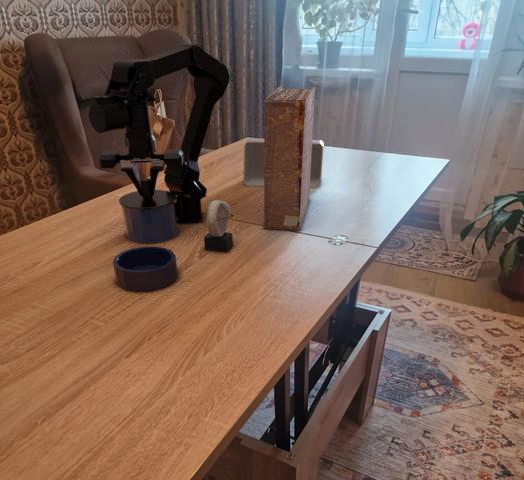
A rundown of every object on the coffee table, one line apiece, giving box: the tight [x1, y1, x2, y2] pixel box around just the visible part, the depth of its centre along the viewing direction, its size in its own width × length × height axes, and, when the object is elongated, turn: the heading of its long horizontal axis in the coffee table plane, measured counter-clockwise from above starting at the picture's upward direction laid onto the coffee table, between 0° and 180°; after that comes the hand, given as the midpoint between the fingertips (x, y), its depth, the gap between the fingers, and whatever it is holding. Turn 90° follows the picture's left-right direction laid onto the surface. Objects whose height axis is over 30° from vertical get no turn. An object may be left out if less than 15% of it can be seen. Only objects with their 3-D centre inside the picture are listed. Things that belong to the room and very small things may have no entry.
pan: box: [112, 245, 178, 293], centre depth 101 cm, size 13×13×4 cm
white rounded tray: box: [242, 137, 325, 189], centre depth 157 cm, size 25×16×12 cm, turn 83°
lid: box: [118, 177, 176, 210], centre depth 116 cm, size 14×14×6 cm
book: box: [263, 85, 316, 232], centre depth 125 cm, size 25×9×30 cm, turn 170°
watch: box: [203, 199, 234, 253], centre depth 112 cm, size 6×8×11 cm
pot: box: [121, 202, 179, 244], centre depth 120 cm, size 13×13×8 cm
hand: (147, 195), depth 117 cm, fingers closed on lid, 2 cm apart
